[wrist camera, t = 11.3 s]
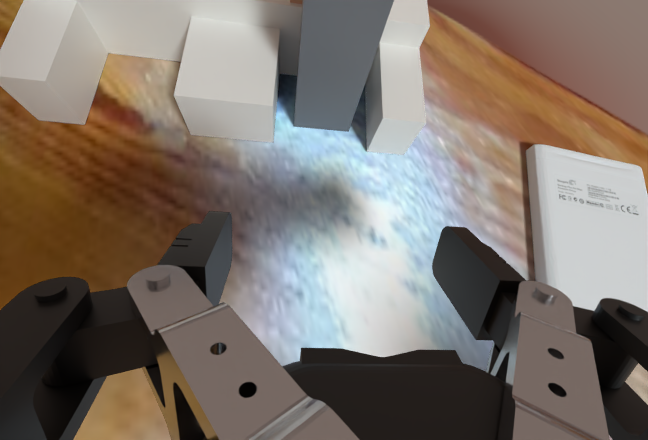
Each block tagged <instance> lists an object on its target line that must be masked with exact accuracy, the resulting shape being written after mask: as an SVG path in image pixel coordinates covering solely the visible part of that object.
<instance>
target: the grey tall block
mask: <svg viewBox="0 0 648 440" xmlns="http://www.w3.org/2000/svg"><path fill="white" fill-rule="evenodd" d="M393 2H394V0H302V13H301V27H300V40H299V54H298V67H297V80H296V98H295V115H294V126H295V127H306V128H316V129H327V130H337V131H349V128H350V126H351V123H352V120H353V117H354V114H355V111H356V108H357V106H358V103H359V100H360V97H361V94H362V91H363V88H364V85H365V83H366V80H367V77H368V74H369V71H370V68H371V65H372V62H373V60H374V57H375V54H376V51H377V48H378V45H379V42H380V39H381V37H382V34H383V31H384V28H385V25H386V22H387V19H388V16H389V14H390V11H391V8H392V5H393Z"/></svg>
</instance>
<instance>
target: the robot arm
mask: <svg viewBox="0 0 648 440" xmlns="http://www.w3.org/2000/svg"><path fill="white" fill-rule="evenodd" d="M231 261H232V217H231V213H230V212H215V211H209V212H208V213H207V215H206V217H205V218H204V220H203V222H202V223H201V224H191V225H189V226H187V227H186V228H184V229H182V230H181V231H180V233H179V234H178V236H177V237H176V240H174V241H173V243H172V244H171V246H170V247H169V249H168V250H167V252H166V253H165V254H164V256H163V257H162V259H161V260H160V262H159V263H158V265H157V266H152V267H148V268H145V269H143V270H141V271H139V272H137V273H135V274H134V275H133V276H132V277H131V278H130V279H129V280H128V283H127V287H123V288H118V289H112V290H105V291H99V292H92V293H90V290H89V285H88V283H87V282H86V281H85V280H83V279H80V278H76V277H60V278H54V279H49V280H46V281H42V282H39V283H37V284H34V285H32V286H30V287H28V288H26V289H25V290H23V291H22V292H20V293H19V294H18V295H17V296H16V297H14V298H13V299H12V300H11V301H10V302H9V303H8V304H7V305H6V306H5V307H3V308H2V309H1V310H0V440H73V439H74V437H75V435H76V433H77V431H78V430H79V428H80V426H81V424H82V422H83V420H84V418H85V416H86V415H87V413H88V411H89V409H90V407H91V405H92V403H93V401H94V399H95V398H96V396H97V394H98V392H99V390H100V388H101V386H102V384H103V382H104V381H105V379H106V377H107V376H109V375H113V374H117V373H121V372H125V371H129V370H133V369H138V368H142V369H143V372H144V374H145V376H146V378H147V380H148V383H149V385H150V387H151V389H152V392H153V394H154V396H155V398H156V401H157V403H158V405H159V407H160V410H161V412H162V414H163V416H164V419H165V421H166V424H167V427H168V430H169V434H170V437H171V440H610V439H609V435H610V436H611V438H612V439H613V440H648V405H647V404H646V403H645V402H644V401H643V400H642V399H641V398H640V397H639V396H638V395H637V394H636V393H635V392H634V391H633V390H632V389H631V388H630V387H629V385H628V384H627V383H626V382H625V381H626V379H627V378H628V377H629V375H630V374H631V372H632V371H633V370H634V368H635V367H636V365H637V364H638V363H639V364H640V365H641V366H642V367H643V368H644V369H646V370H647V371H648V312H647V311H645V310H643V309H641V308H639V307H637V306H635V305H633V304H630V303H628V302H625V301H622V300H618V299H613V298H603V299H601V300H600V302H599V304H598V305H597V307H596V309H595V310H594V311H592V310H588V309H584V308H579V307H575V306H573V304H572V301H571V300H570V299H569V298H568V297H567V296H566V295H565V294H564V293H562V292H561V291H559V290H558V289H556V288H554V287H552V286H550V285H547V284H544V283H541V282H537V281H529V280H528V281H526V280H525V279H524V278H523V277H522V276H521V275H520V274H519V273H518V272H516V271H515V270H514V269H513V268H512V267H511V266H510V265H509V264H506V261H505V260H504V259H503V258H501V257H499V255H498V254H497V253H496V252H495V251H494V250H493V249H492V248H491V247H489V246H487V245H485V244H484V243H482V242H481V241H480V240H479V239H478V238H477V237H476V236H475V235H474V234H473V233H471V232H470V231H469V230H468V229H467V228H465V227H449V226H446V227H444V228H443V230H442V232H441V235H440V239H439V242H438V246H437V249H436V253H435V256H434V259H433V265H432V269H433V274H434V277H435V279H436V280H437V282H438V283H439V285H440V286H441V288H442V289H443V291H444V292H445V294H446V295H447V297H448V298H449V300H450V301H451V303H452V304H453V306H454V307H455V309H456V310H457V312H458V314H459V315H460V317H461V318H462V320H463V321H464V323H465V324H466V326H467V327H468V329H469V330H470V332H471V333H472V335H473V336H474V338H475V339H476V340H493V341H494V343H493V346H492V348H491V350H490V354H489V359H488V364H487V368H486V371H483V370H481V369H478V368H476V367H473V366H470V365H467V364H463V363H462V362H461V360H460V358H459V356H458V354H457V353H456V351H455V350H416V351H411V352H407V353H403V354H398V355H394V356H389V357H377V356H372V355H368V354H363V353H358V352H354V351H349V350H345V349H336V348H301V355H300V361H298V362H294V363H291V364H288V365H285V366H281V365H280V364H279V362H278V361H277V360H276V359H275V358H274V357H273V356H272V354H271V353H270V352H269V351H268V350H267V349H266V347H265V346H264V345H263V344H262V343H261V342H260V341H259V339H258V338H257V337H256V336H255V335H254V334H253V332H252V331H251V330H250V329H249V328H248V327H247V325H246V324H245V323H244V322H243V321H242V320H241V319H240V317H239V316H238V315H237V314H236V313H235V312H234V310H233V309H232V308H231V307H230V306H229V305H228V304H227V303H221V304H219V301H220V298H221V295H222V292H223V289H224V285H225V282H226V279H227V276H228V273H229V270H230V267H231Z"/></svg>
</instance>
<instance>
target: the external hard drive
mask: <svg viewBox="0 0 648 440" xmlns="http://www.w3.org/2000/svg"><path fill="white" fill-rule="evenodd" d="M526 161H527V173H528V187H529V200H530V214H531V227H532V240H533V253H534V267H535V281H537V282H541V283H544V284H547V285H550V286H552V287H554V288H556V289H558V290H559V291H561V292H562V293H564V294H565V295H566V296H567V297H568V298H569V299H570V300H571V301H572V304H573V306H575V307H579V308H584V309H588V310H592V311H594V310H595V309H596V307H597V305H598V304H599V302H600V300H601V299H603V298H613V299H618V300H622V301H625V302H628V303H630V304H633V305H635V306H637V307H639V308H641V309H643V310H645V311H647V312H648V195H647V191H646V186H645V181H644V177H643V172H642V168H641V167H639V166H637V165H633V164H628V163H624V162H619V161H614V160H610V159H605V158H601V157H596V156H592V155H587V154H583V153H579V152H575V151H570V150H566V149H561V148H557V147H553V146H548V145H542V144H535V145H533V146H532V147H530V148H529V149H528V150H526Z"/></svg>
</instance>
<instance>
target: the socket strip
mask: <svg viewBox="0 0 648 440" xmlns="http://www.w3.org/2000/svg"><path fill="white" fill-rule="evenodd" d="M301 13H302V0H24V1H23V3H22V5H21V7H20V9H19V11H18V13H17V16H16V18H15V20H14V22H13V24H12V26H11V28H10V30H9V32H8V35H7V37H6V39H5V41H4V43H3V45H2V47H1V49H0V86H1V87H2V88H3V89H4V90H5V91H7V92H8V93H9V94H10V95H11V96H12V97H13V98H14V99H15V100H17V101H18V102H19V103H20V104H21V105H22V106H23V107H24V108H25V109H27V110H28V111H29V112H30V113H31V114H32V115H33V116H34V117H35V118H37V119H38V120H41V121H52V122H62V123H72V124H83V125H85V123H86V120H87V117H88V114H89V111H90V108H91V105H92V102H93V98H94V95H95V92H96V89H97V86H98V83H99V80H100V77H101V74H102V71H103V68H104V65H105V62H106V59H107V56H108V53H112V54H120V55H129V56H137V57H145V58H153V59H162V60H170V61H178V62H181V65H180V69H179V74H178V78H177V83H176V87H175V92H174V97H175V99H176V102H177V104H178V106H179V109H180V111H181V113H182V116H183V118H184V120H185V123H186V125H187V127H188V130H189V132H190V134H191V135H197V136H208V137H218V138H229V139H239V140H249V141H260V142H270V143H274V132H275V121H276V110H277V99H278V88H279V77H280V74H286V75H294V76H297V67H298V54H299V40H300V27H301ZM429 27H430V24H429V15H428V6H427V0H394V2H393V5H392V8H391V11H390V14H389V16H388V19H387V22H386V25H385V28H384V31H383V34H382V37H381V39H380V42H379V45H378V48H377V51H376V54H375V57H374V60H373V62H372V65H371V68H370V71H369V74H368V77H367V80H366V83H365V99H366V146H367V152H374V153H385V154H395V155H404V154H405V153H406V151H407V150H408V148H409V147H410V146H411V144H412V143H413V141H414V140H415V138H416V137H417V136H418V134H419V133H420V131H421V130H422V128H423V127H424V126H425V124H426V114H425V104H424V93H423V83H422V72H421V62H420V52H419V47H420V45H421V43H422V41H423V39H424V37H425V35H426V33H427V31H428V29H429Z"/></svg>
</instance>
